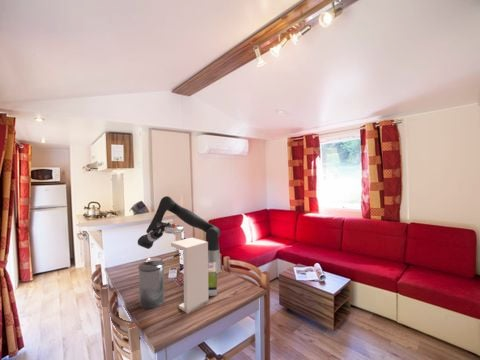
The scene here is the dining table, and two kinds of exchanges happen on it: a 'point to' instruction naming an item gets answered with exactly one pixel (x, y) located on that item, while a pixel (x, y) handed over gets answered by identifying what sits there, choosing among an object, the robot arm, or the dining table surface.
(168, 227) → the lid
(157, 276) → the grey glass jar
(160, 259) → the frying pan
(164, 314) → the dining table surface
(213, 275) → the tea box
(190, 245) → the white bookcase side
